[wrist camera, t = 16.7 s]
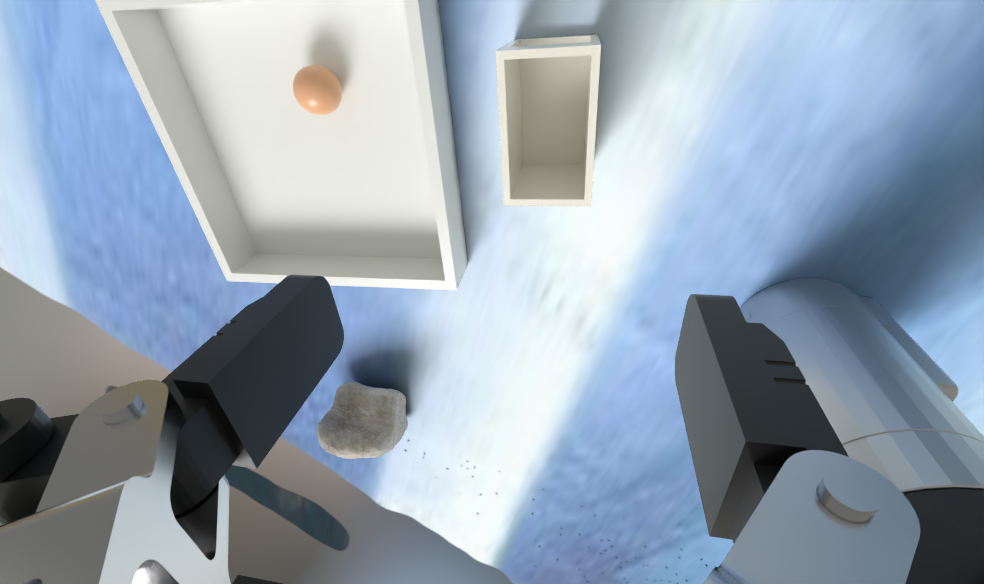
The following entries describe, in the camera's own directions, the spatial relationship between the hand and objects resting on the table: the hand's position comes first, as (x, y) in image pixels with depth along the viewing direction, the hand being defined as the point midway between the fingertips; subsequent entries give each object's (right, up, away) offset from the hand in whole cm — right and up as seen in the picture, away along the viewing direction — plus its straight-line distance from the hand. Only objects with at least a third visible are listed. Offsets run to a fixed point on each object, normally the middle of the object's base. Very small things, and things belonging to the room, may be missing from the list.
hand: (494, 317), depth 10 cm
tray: (-13, +12, +23) cm, 29 cm away
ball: (-11, +14, +19) cm, 26 cm away
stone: (-8, -13, +38) cm, 41 cm away
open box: (+4, +13, +19) cm, 23 cm away
